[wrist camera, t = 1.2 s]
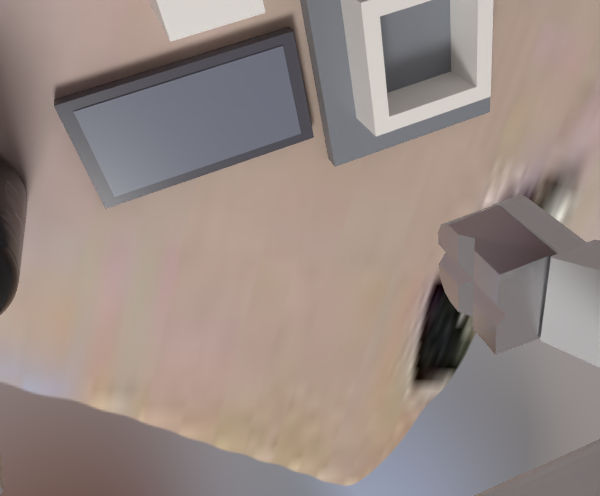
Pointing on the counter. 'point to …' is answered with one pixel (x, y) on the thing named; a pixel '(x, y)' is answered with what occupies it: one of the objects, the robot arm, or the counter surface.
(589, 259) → the robot arm
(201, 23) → the block
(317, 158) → the counter surface
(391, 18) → the dock
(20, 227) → the supplement bottle
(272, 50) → the phone
